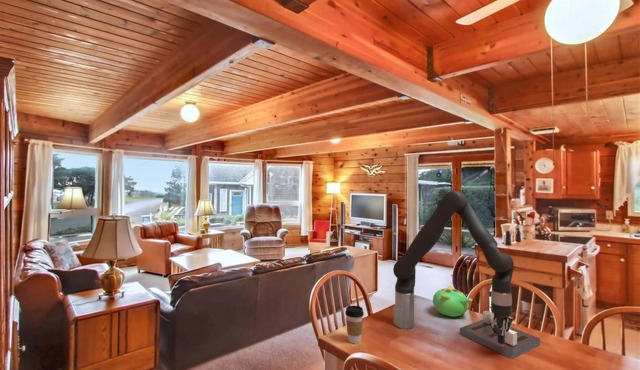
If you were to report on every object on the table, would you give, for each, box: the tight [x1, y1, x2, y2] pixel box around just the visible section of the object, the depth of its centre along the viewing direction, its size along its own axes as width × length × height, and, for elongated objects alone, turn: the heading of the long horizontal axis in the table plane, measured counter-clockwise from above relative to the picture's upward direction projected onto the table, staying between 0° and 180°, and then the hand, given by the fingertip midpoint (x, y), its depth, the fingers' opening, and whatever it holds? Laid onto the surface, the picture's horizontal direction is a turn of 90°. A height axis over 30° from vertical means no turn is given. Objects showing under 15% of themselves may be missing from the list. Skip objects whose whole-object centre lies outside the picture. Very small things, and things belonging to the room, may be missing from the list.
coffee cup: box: [344, 305, 365, 344], centre depth 142 cm, size 8×8×15 cm
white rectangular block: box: [505, 329, 517, 346], centre depth 134 cm, size 3×4×5 cm
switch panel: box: [459, 310, 541, 360], centre depth 143 cm, size 22×24×8 cm
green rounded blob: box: [432, 285, 473, 317], centre depth 169 cm, size 18×17×15 cm
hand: (501, 342), depth 130 cm, fingers closed
